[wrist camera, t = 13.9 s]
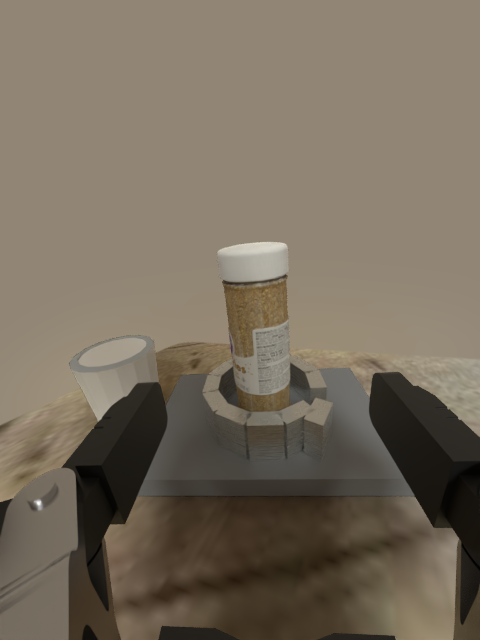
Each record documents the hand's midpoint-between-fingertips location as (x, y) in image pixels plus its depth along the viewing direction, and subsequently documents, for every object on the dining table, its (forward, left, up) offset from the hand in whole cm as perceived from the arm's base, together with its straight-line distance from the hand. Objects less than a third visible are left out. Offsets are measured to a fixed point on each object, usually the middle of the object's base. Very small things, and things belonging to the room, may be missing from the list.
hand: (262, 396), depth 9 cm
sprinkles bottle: (0, +9, -9) cm, 12 cm away
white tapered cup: (-13, +11, -10) cm, 20 cm away
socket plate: (0, +9, -10) cm, 13 cm away
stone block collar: (0, +9, -8) cm, 12 cm away
